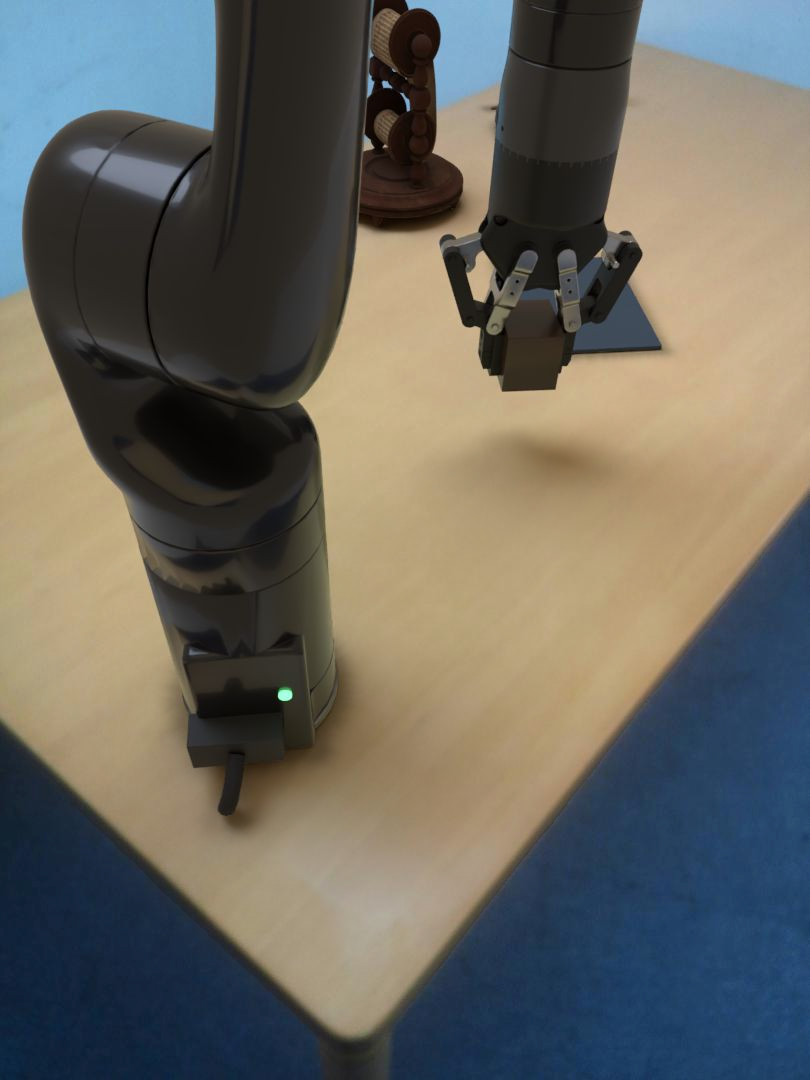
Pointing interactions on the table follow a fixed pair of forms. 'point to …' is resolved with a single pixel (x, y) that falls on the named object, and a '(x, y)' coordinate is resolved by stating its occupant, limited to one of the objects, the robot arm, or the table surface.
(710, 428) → the table surface
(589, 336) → the grey mat
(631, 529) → the table surface
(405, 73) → the brown wooden upright stand
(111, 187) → the robot arm
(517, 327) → the walnut block
